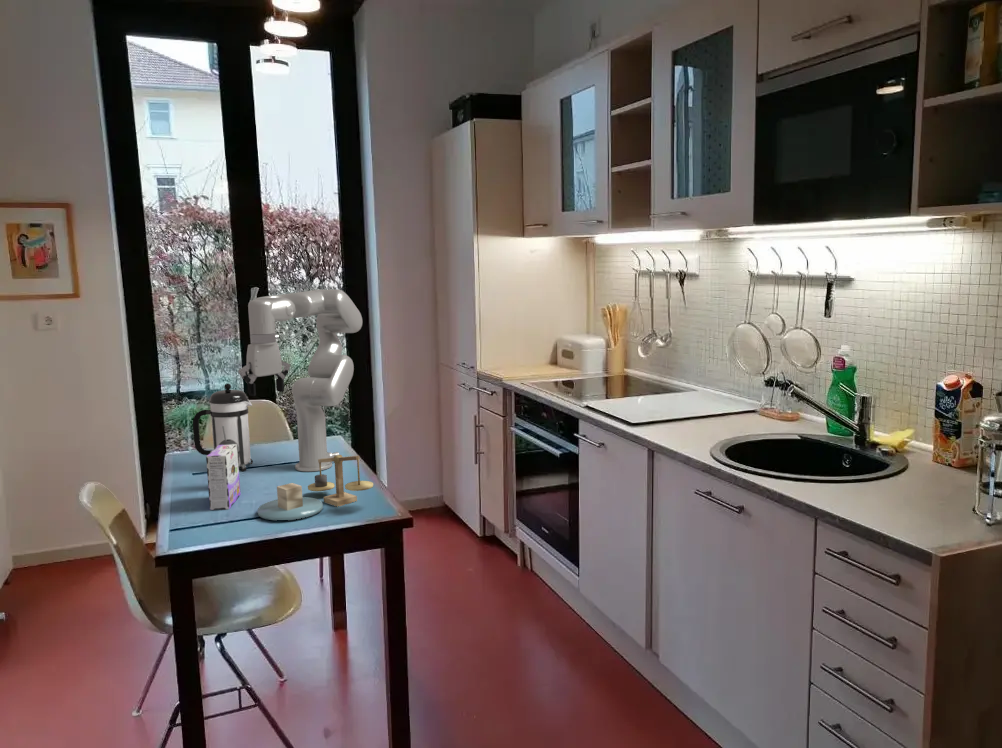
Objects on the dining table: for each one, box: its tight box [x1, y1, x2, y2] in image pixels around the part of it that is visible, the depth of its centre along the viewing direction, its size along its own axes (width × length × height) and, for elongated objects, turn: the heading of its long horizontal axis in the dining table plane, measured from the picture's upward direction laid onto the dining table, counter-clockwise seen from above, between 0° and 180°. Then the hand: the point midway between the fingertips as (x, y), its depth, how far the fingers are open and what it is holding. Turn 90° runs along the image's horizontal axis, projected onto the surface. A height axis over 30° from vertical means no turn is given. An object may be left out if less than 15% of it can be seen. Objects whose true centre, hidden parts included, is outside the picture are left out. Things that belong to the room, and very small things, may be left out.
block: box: [276, 482, 303, 510], centre depth 223 cm, size 5×5×6 cm
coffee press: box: [192, 383, 254, 472], centre depth 270 cm, size 17×16×30 cm
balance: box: [307, 454, 374, 508], centre depth 231 cm, size 8×28×16 cm, turn 47°
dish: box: [257, 496, 324, 521], centre depth 223 cm, size 18×18×2 cm
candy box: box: [205, 444, 242, 511], centre depth 232 cm, size 14×6×16 cm, turn 5°
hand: (266, 393), depth 245 cm, fingers open, 9 cm apart
